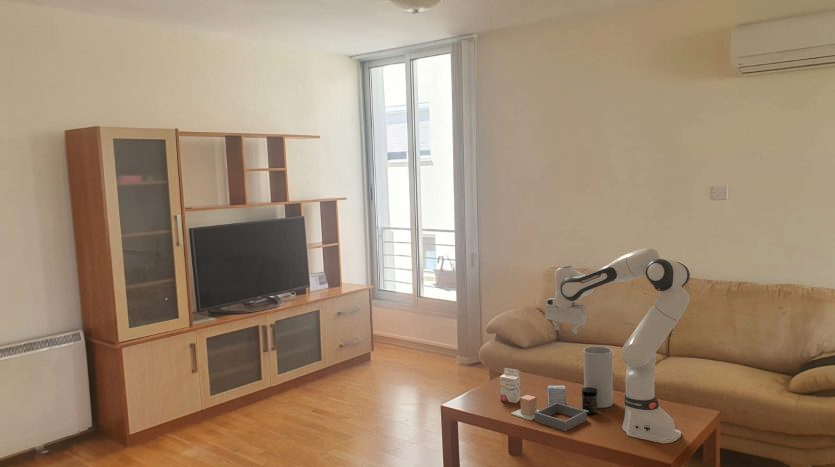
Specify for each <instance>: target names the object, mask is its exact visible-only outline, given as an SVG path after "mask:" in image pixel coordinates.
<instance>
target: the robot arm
mask: <svg viewBox="0 0 835 467" xmlns="http://www.w3.org/2000/svg"><path fill="white" fill-rule="evenodd" d="M689 270H690V269H689V268H688V267H687V266H686V265H685V264H684V263H682V262H679V261H674V260H673V259H664V258H662V257H661V256H660V254H659V252H658V251H657V250H656V249H655V248H653V247H644V248H640V249H636V250H633V251H630V252H627V253H625V254H623V255H620V256H619V257H618V258H616V259H614V260H613V261H611V262H610V263H608V264H606V265H605V266H603V267H601V268H600V269H598V270H596V271H594V272H591V273H589V274H585V273H582V272H581V271H578V270H576V269H575V268H574V267H573V265H567V266H565V265H564V266H560V267H558V268H556V270H555V271H554V288H555V293H554V297H551V298H548V299H546V300H545V307H544V317H545V319H546V320H550V321H551V323H552V325H553V326H554V330H555V331H560V325H558V323H557V322H562V323H565V324H566V323H567V324H572V325H573V327H574V328H572V329H571V333H572V334H577V333H578V328H580V326H582V325H585V324H586V323H587V313H586V306H585V305H583V303H578V302H576V301H577V300H579V299H582V298H584V297H586V296H589V295H592V294H593V293H594V291H595V290H596V288H598V287H601V286H604V285H608V284H617V283H622V282H623V283H625V282H629V281H634V280H637V279H640V278H641V277H642V278H643V277H644V276H645V277H646V279H647V281H648V282H649V283H650V284H651V285H652V286H653V288H654V289H655V291H657V292H659V295H658V297H657V299H656V300H655V301H654V303H653V304H652V306H651V307H650V308H649V310H648V311H647V313H646V314H645V316H644V317H643V318H642V319H641V321H640V322H639V324H638V325H637V327H636V328H635V330H634V331H633V332H632V333H631V335H630V336H629V338H628V339H627V340H626V341H625V343H624V344H623V346H622V350H621V356H622V360H623V362H624V364H626V371H625V393H624V407H625V410H624V419H623V422H622V425H621V426H622V427H621V429H622V430H623V431H624V432H625V434H626V436H627V437H631V438H636V439H641V440H646V441H649V442H656V443H660V444H663V445H665V444H670V443H673V442H675V441H678V440H679V439H680V438H681V436H682V432H681V430H679V429H676V426H675V421H674V418H672V417H671V415H669V413H667V412H666V411H665V410H664V409H663V408H662V407H660V405H659V404H660V403H661V401H662V400H661V399H657V397H656V395H655V374H656V373H655V372H656V363H657V362H656V357H657V351H658V350H659V349H660V347H661V346H662V344H663V343H664V341H665V340H666V339H667V337H668V336H669V335H670V333H671V332H672V331H673V329H674V327H675V326H676V325H677V324H678V322H679V321H680V319H682V316H683V315H684V313H685V311H686V310H687V308H688V306H689V303H690V300H691V296H690V293H689V292H688V291H687V290H686V289H685V288H684V286H686V285H687V284H688V282H689V281H690V279H691V278H690V277H691V274H690V273H691V272H690V271H689Z"/></svg>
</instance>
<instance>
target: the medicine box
mask: <svg viewBox="0 0 835 467" xmlns="http://www.w3.org/2000/svg"><path fill="white" fill-rule="evenodd" d="M566 391H567V389H566V386H565V385H547V405H548V406H550V405H552V404H554V403H560V404H563V405H567V392H566Z"/></svg>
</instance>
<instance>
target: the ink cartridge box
mask: <svg viewBox="0 0 835 467" xmlns="http://www.w3.org/2000/svg"><path fill="white" fill-rule="evenodd" d="M499 389H500V390H499V391H500V392H499V395H500V401H502V402H509V403H512V404H513V403H514V404H517V403H518V402H520V398H521V377H520V369H515V368H510V367H509V368H507V367H503V374H501V375H500V376H499Z"/></svg>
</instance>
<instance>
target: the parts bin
mask: <svg viewBox="0 0 835 467" xmlns="http://www.w3.org/2000/svg"><path fill="white" fill-rule="evenodd" d="M538 410H539V411H537V412H535V419H534V422H536V423H539V424H542V425H545V426H548V427H551V428H554V429H558V430H561V431H563V432H568V431H569V430H571V429H573V428H575V427H577V426H579V425H580V424H583V423H585V422H587V421H588V415H587V411H584V410H582V408H581V409H580V408H577V407H574V406H570V405H567V404H566V405H563V404H560V403H554V404H552V405H550V406H549V405H548V406H545V407H544V408H541V409H538ZM556 413H558V414H561V415H562V414H563V415H565V416H568V417H570V418H568V419H566V420H563V419H560V418H557V417H553V416H552V415H554V414H556Z"/></svg>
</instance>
